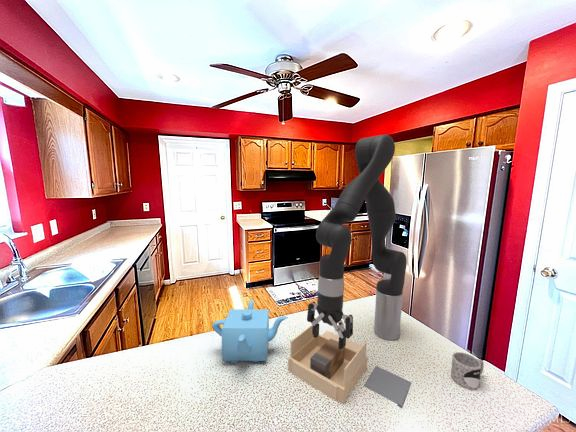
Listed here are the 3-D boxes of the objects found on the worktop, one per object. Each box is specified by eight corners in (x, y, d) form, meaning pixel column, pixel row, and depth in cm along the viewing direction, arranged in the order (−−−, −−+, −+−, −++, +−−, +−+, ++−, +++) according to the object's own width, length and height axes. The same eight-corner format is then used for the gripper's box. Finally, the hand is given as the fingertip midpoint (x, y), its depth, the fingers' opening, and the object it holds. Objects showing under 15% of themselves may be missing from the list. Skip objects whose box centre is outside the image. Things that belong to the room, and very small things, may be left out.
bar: (329, 355, 80) (330, 338, 79) (343, 362, 77) (344, 344, 76) (309, 376, 70) (310, 357, 70) (324, 385, 67) (325, 365, 67)
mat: (375, 367, 75) (375, 365, 75) (410, 383, 69) (410, 381, 69) (363, 387, 67) (363, 385, 67) (401, 407, 61) (401, 405, 61)
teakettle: (208, 353, 80) (207, 312, 79) (252, 330, 94) (252, 294, 92) (242, 385, 67) (242, 336, 66) (287, 353, 81) (288, 312, 79)
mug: (466, 392, 66) (469, 370, 66) (445, 374, 73) (447, 354, 72) (493, 385, 69) (495, 363, 68) (470, 368, 75) (472, 348, 75)
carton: (322, 340, 89) (323, 315, 88) (371, 362, 77) (372, 335, 76) (287, 372, 73) (287, 342, 72) (342, 406, 61) (344, 372, 60)
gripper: (358, 293, 69) (355, 346, 71) (316, 280, 78) (314, 328, 80) (347, 302, 63) (344, 359, 65) (303, 287, 72) (301, 338, 74)
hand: (328, 342), depth 72 cm, fingers open, 8 cm apart
